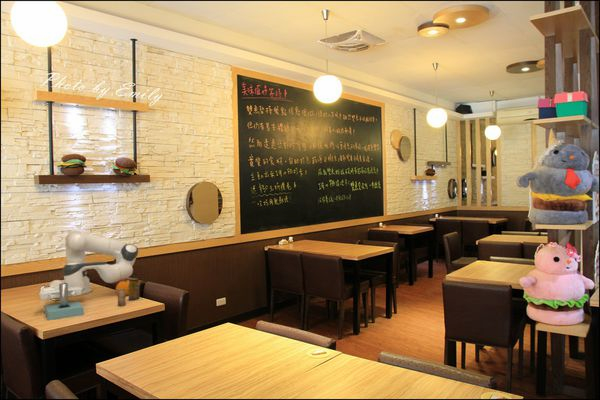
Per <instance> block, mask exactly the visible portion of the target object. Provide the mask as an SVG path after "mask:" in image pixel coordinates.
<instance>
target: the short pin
mask: <svg viewBox="0 0 600 400" xmlns="http://www.w3.org/2000/svg"><path fill="white" fill-rule="evenodd" d="M125 306H126V296H125V289H118V294H117V307H125Z"/></svg>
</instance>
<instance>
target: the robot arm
mask: <svg viewBox="0 0 600 400" xmlns="http://www.w3.org/2000/svg"><path fill="white" fill-rule="evenodd" d="M64 241H65V242H64V243H65V265H64V266H63V268H62V269H61V270H62V271H61V272H62V274H63V279H64V280H63V281H62V280H60V279H55V280H52V281H51V282H50V283H49V285H47V286H43V287H41V290H40V291H39V300H40V301H45V300H59V284H61V283H68V298H69V297H75V296H81V295H84V294H87V293H90V292H93V288H90V286H91V285H90V278H89V277H88V276H87V274H88V273H87V270H92V269H93V270H95V271H96V272H97V274H98V275H99V277H100V278H101V279H102V281H104V282H105V283H106V284H107V283H108V284H113V283H117V282H118V283H119V282H121V281H124V280H125V279H127V278H129V277H131V275H132V274H133V272H134V269H133V266H134V264H135V262H136V259H137V256H138V254H139V249H138V247H137V246H136V245H134V244H131V243H127V244H126V243H125V242H123V241H121V240H118V239H116V238H112V237H106V236H102V235H95V234H88V233H82V232H81V231H77V230H73V231H70V232H68V233H67V235H66V236H65V240H64ZM86 253H94V254H99V255H100V254H101V255H105V256H111V257H114V259H113V263H114V264H110V263H109V264H108V262H106V261H89V262H87V261H86V259H87V257H86Z"/></svg>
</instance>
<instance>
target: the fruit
mask: <svg viewBox="0 0 600 400" xmlns="http://www.w3.org/2000/svg"><path fill="white" fill-rule="evenodd" d="M129 280H130V279H128V280H127V278H125V279H124V280H121V281H118V283H117V284H116V286H115V292H116V294H117V295H118V289H125V297H127V296H129Z"/></svg>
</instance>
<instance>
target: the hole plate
mask: <svg viewBox="0 0 600 400" xmlns="http://www.w3.org/2000/svg"><path fill="white" fill-rule="evenodd" d="M84 314H85V313H84V306H83V305H82V304H81V303H80V301H78V300H77V301H70V302H69V301H68V307H66V308H60V303H55V304H49V305H47V304H46V305H44V315H45V316H46V319H47V320H48V321H52V320H60V319H64V318H65V319H66V318H73V317H79V316H84Z"/></svg>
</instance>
